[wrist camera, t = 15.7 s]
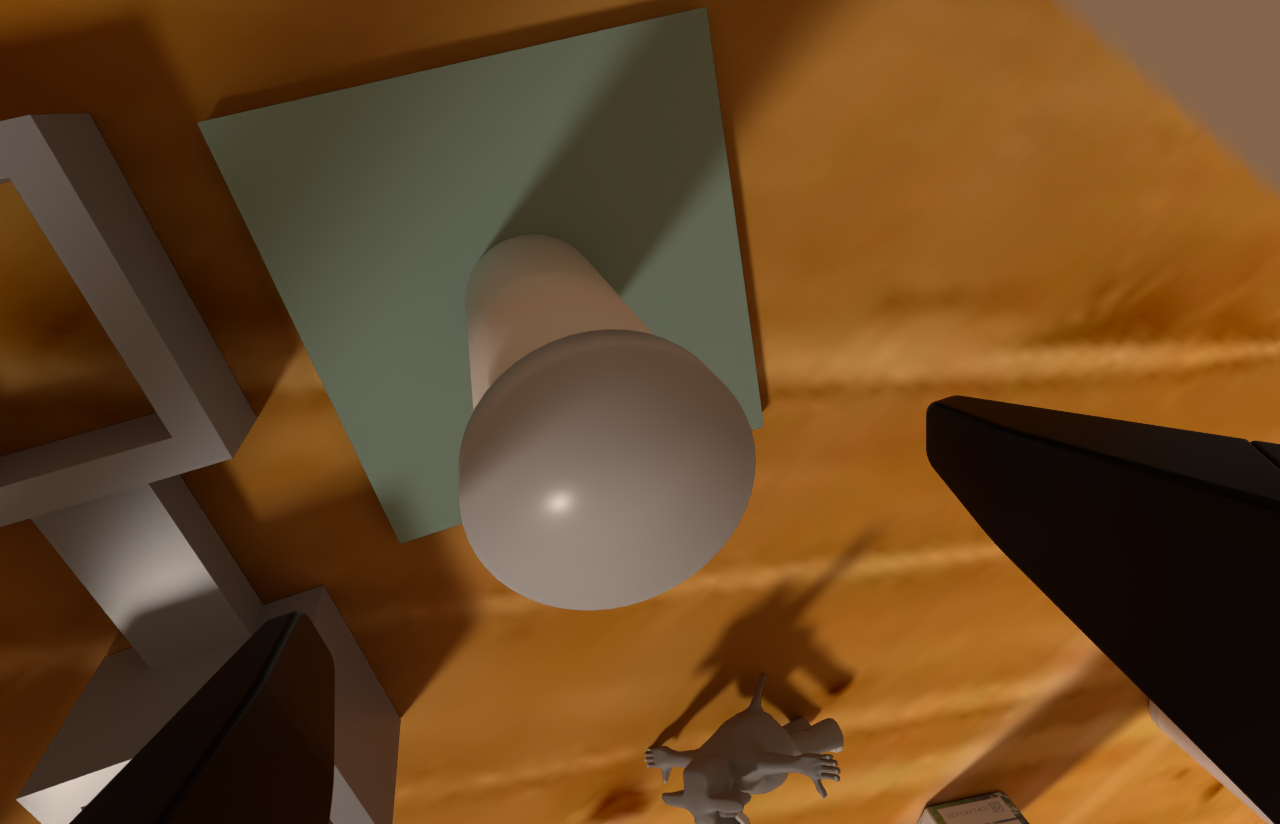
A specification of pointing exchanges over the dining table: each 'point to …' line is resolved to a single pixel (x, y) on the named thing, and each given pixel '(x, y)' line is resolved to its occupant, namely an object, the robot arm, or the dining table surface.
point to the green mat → (489, 224)
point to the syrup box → (975, 811)
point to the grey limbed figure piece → (748, 762)
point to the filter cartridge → (590, 437)
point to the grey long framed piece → (155, 499)
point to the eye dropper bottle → (1199, 756)
